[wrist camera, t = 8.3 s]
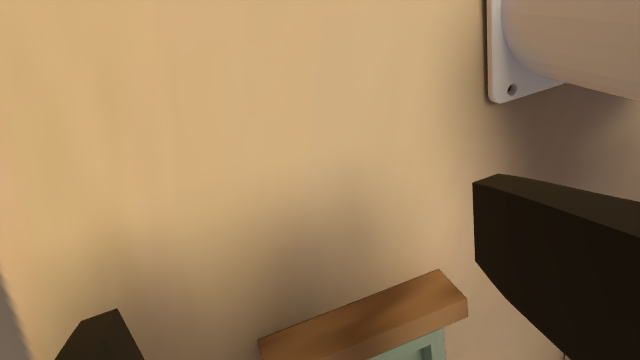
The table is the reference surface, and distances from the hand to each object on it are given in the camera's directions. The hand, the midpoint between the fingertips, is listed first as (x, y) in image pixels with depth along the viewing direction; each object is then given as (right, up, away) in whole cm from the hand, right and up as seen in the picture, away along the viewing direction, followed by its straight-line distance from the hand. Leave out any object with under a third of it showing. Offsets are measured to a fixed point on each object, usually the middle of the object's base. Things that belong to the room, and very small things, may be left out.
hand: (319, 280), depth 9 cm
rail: (+2, -5, +14) cm, 15 cm away
